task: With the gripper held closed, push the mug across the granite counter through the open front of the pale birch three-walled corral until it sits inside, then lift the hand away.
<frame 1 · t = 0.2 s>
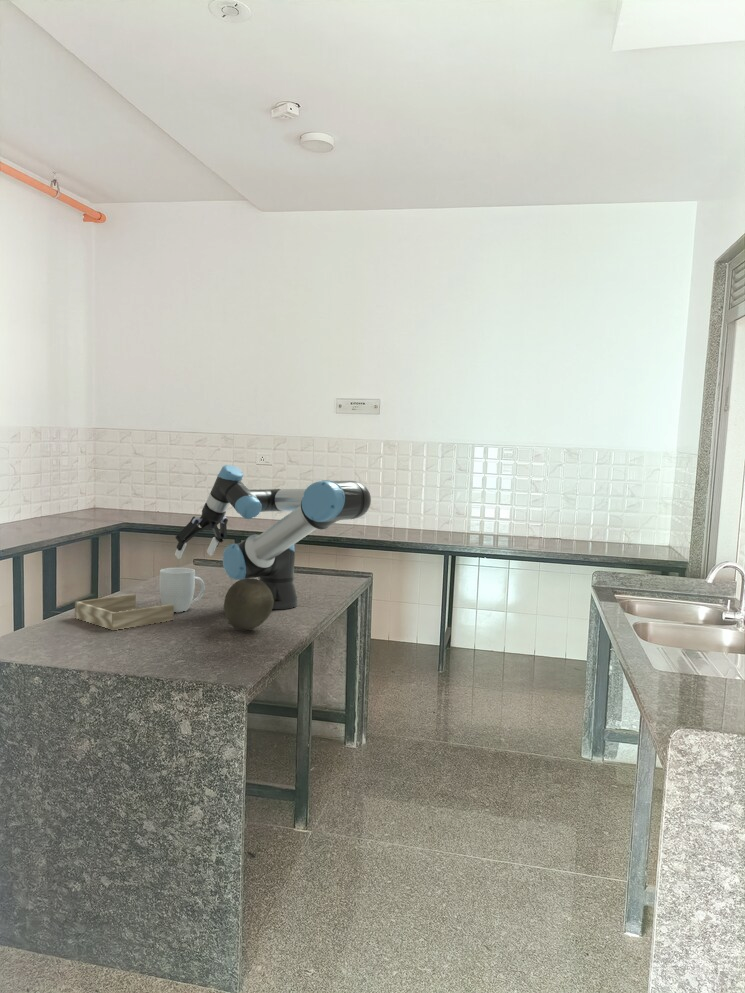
hand: (193, 555, 256), 15 cm above the table, tool tilted 30°, fingers open, 13 cm apart
mug: (179, 610, 236), on the table
corral: (124, 619, 221), on the table
cantaloupe: (247, 630, 214), on the table
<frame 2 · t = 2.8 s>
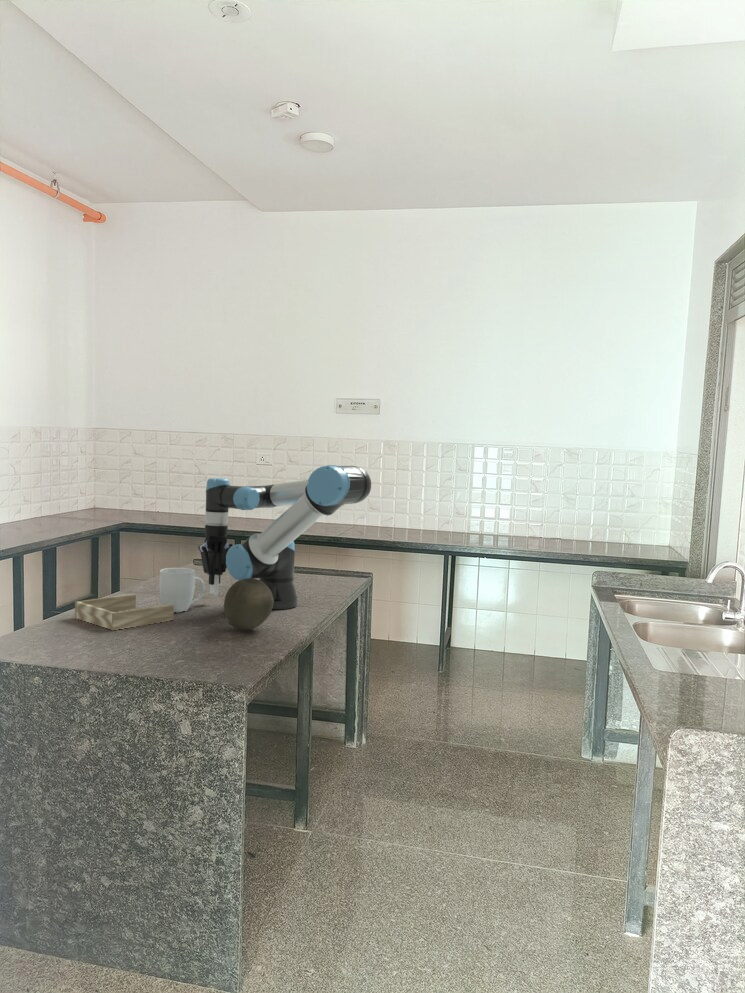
hand: (214, 593, 247), 4 cm above the table, tool pointing down, fingers closed
nothing on the table moved.
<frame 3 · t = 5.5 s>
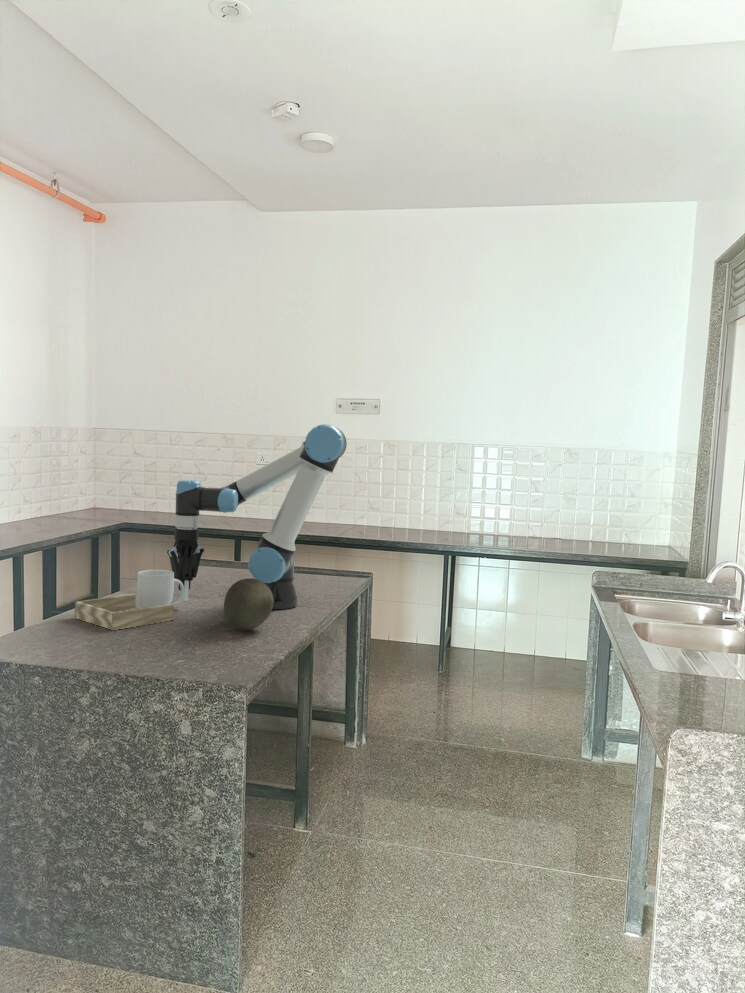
hand: (183, 600, 238), 3 cm above the table, tool pointing down, fingers closed
mug: (158, 614, 230), on the table, touching gripper, hand
everything else where it was.
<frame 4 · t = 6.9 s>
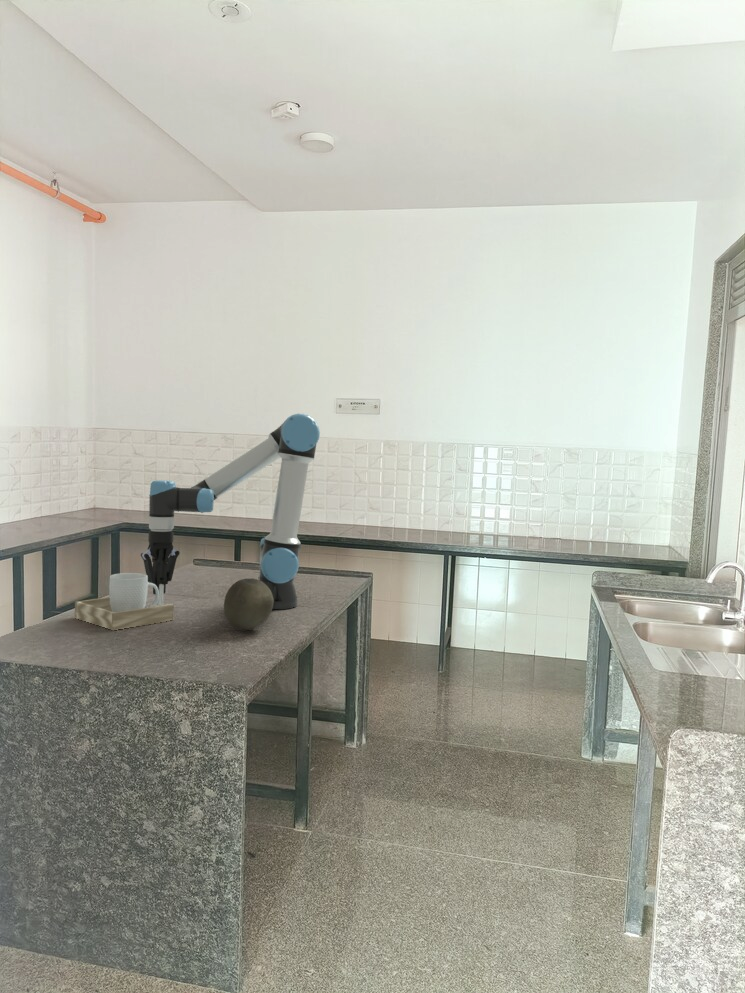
hand: (158, 604, 230), 3 cm above the table, tool pointing down, fingers closed
mug: (131, 618, 223), on the table, touching gripper, hand
everything else where it was.
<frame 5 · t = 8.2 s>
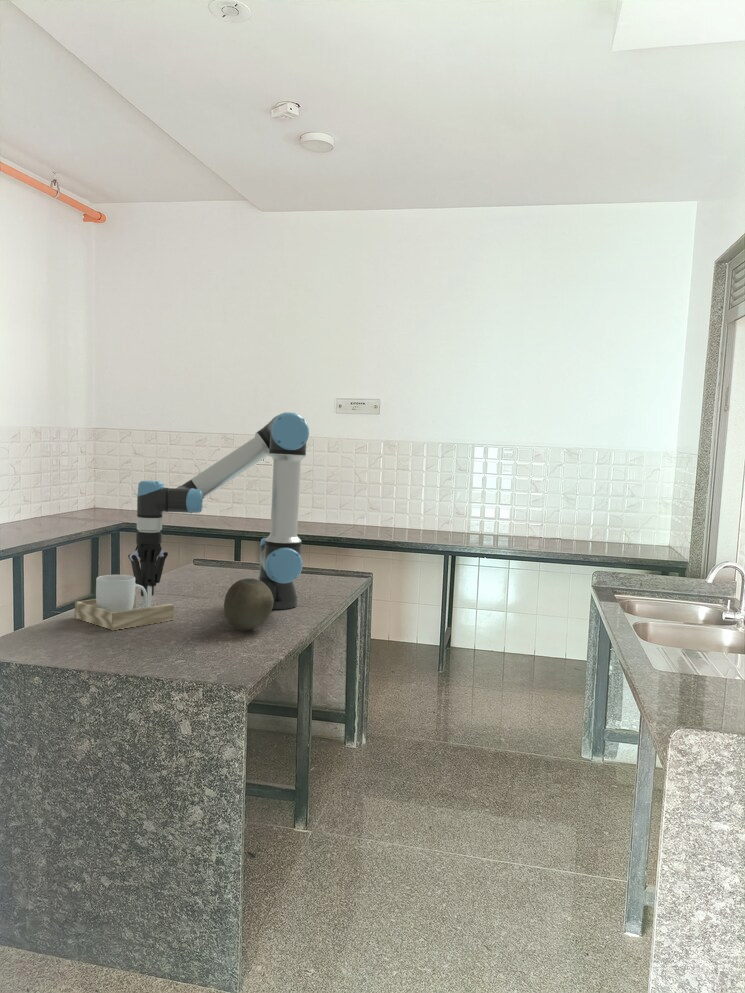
hand: (146, 606, 227), 3 cm above the table, tool pointing down, fingers closed
mug: (118, 621, 219), on the table, touching hand
everything else where it was.
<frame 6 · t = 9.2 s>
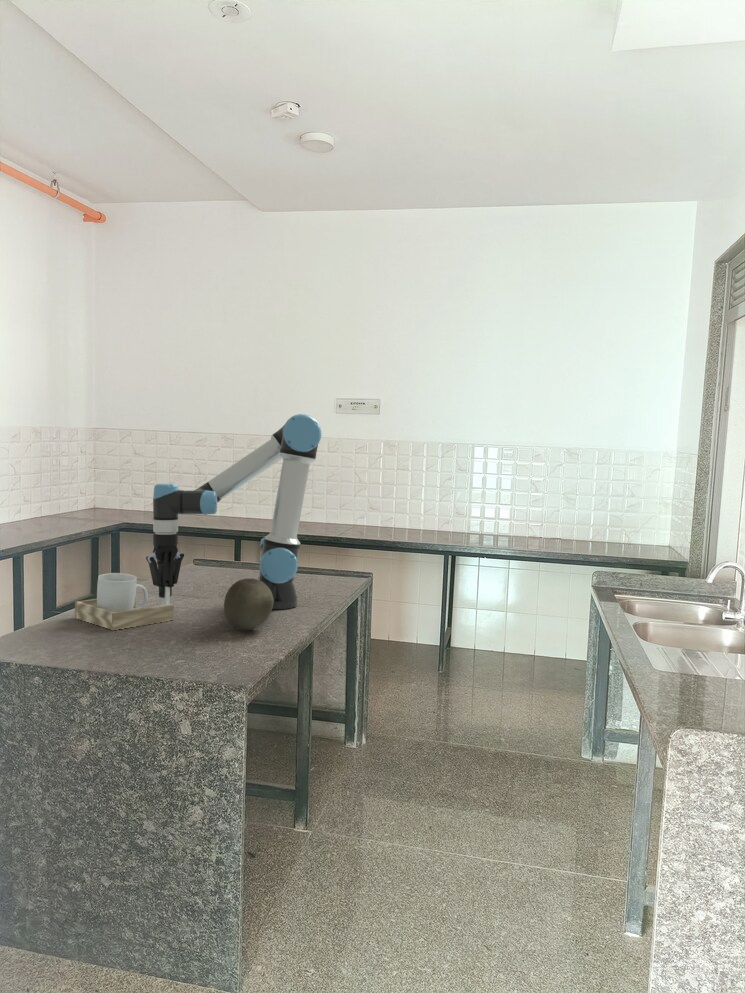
hand: (165, 607, 231), 2 cm above the table, tool pointing down, fingers closed
mug: (118, 620, 219), on the table
everything else where it was.
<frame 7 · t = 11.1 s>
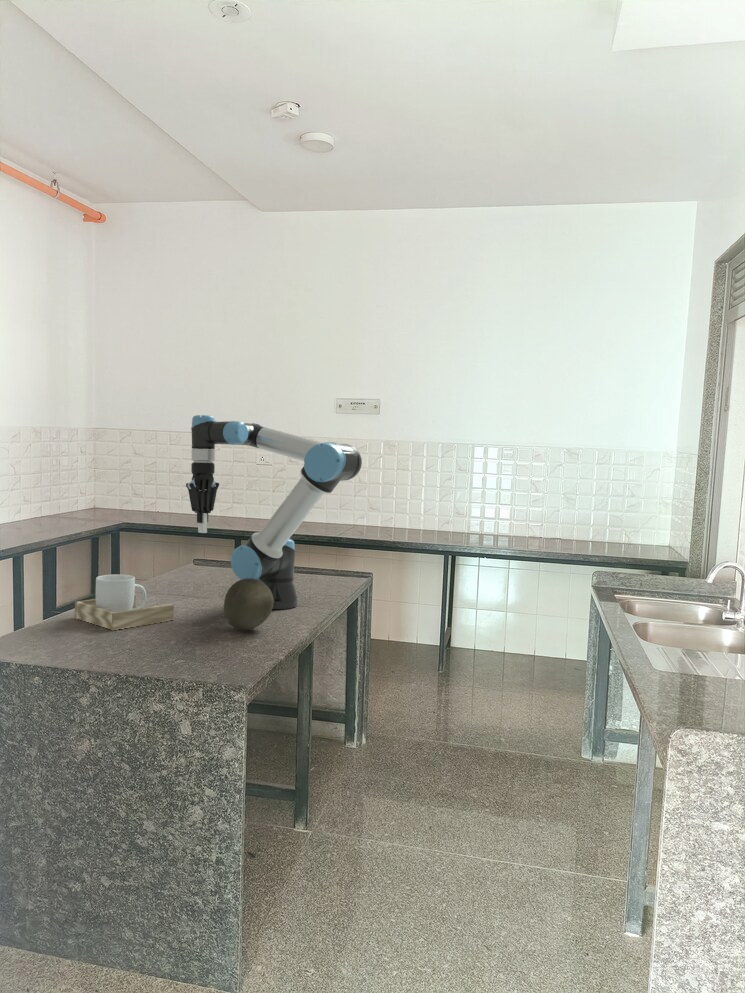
hand: (202, 532, 245), 24 cm above the table, tool pointing down, fingers closed
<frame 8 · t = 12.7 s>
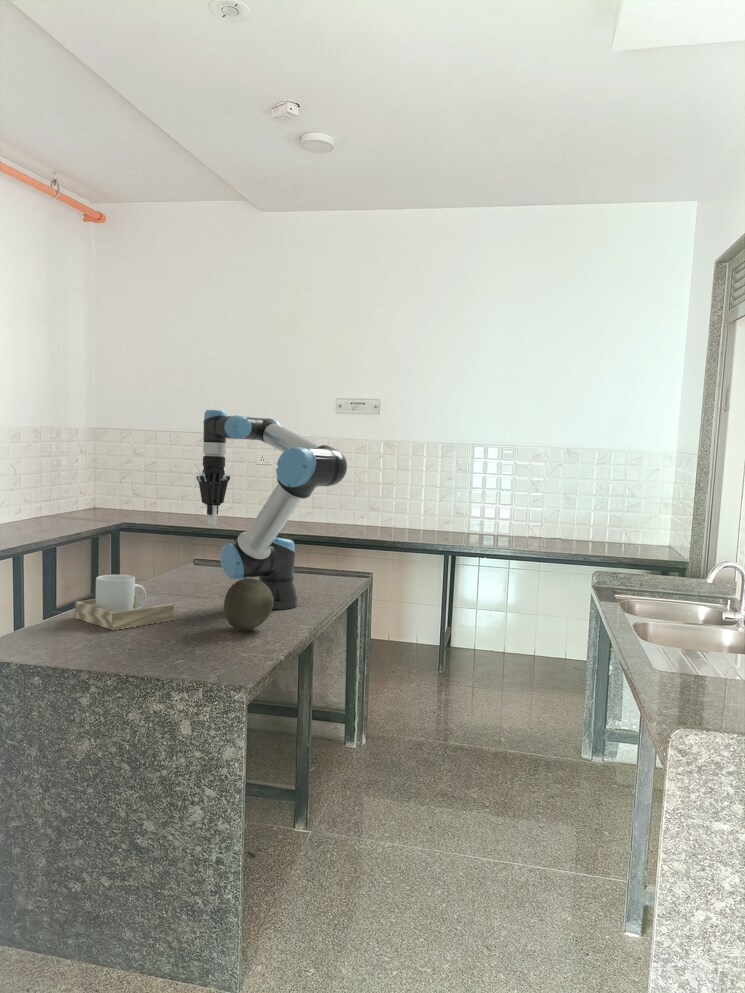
hand: (212, 524, 251), 26 cm above the table, tool pointing down, fingers closed
nothing on the table moved.
at the end: mug inside the target area (2.0 cm from its centre), on the table; mug tilted 0° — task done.
